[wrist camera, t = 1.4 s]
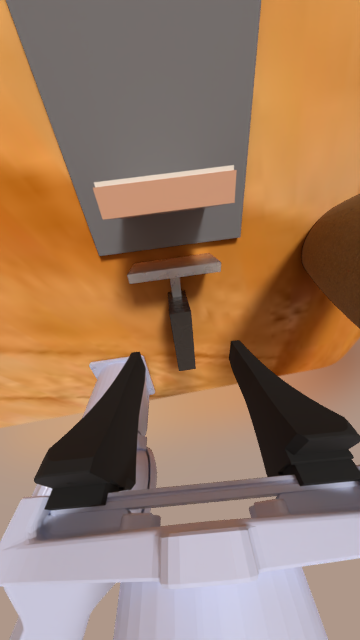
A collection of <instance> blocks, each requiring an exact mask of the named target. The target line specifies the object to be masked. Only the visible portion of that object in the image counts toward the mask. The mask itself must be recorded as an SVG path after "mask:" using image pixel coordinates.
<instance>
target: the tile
mask: <svg viewBox="0 0 360 640" xmlns="http://www.w3.org/2000/svg"><path fill="white" fill-rule="evenodd" d="M236 172H237V170H234V165H230V166H222V167H214V168H206V169H198V170H190V171H182V172H174V173H166V174H158V175H150V176H141V177H133V178H125V179H117V180H109V181H101V182H94V185H95V188H93V191H94V194H95V197H96V200H97V203H98V206H99V210H100V213H101V216H102V219H103V220H106V219H124V218H133V217H141V216H149V215H156V214H164V213H172V212H180V211H187V210H195V209H203V208H209V207H214V206H220V205H225V204H230V203H235V187H236Z"/></svg>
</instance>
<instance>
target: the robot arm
mask: <svg viewBox="0 0 360 640" xmlns="http://www.w3.org/2000/svg"><path fill="white" fill-rule="evenodd" d="M229 360H230V364H231V367H232V370H233V373H234V375H235V378H236V380H237V382H238V385H239V387H240V389H241V392H242V394H243V396H244V399H245V401H246V404H247V407H248V410H249V413H250V416H251V419H252V423H253V426H254V430H255V433H256V436H257V440H258V443H259V447H260V450H261V455H262V458H263V462H264V466H265V470H266V474H267V476H268V477H265V478H254V479H244V480H234V481H224V482H213V483H204V484H193V485H184V486H173V487H163V488H156V482H157V470H156V462H155V459H154V455H153V452H152V450H151V449H150V448H148V447H146V445H147V437H145V435H146V431H147V423H148V408H149V395H152V394H155V389H154V386H153V383H152V380H151V377H150V374H149V371H148V368H147V365H146V361H145V358H144V356H142V355H141V354H140V352H133V353H131V355H130V356H129V357H124V358H117V359H110V360H104V361H97V362H91V363H90V365H89V367H90V368H91V370H92V372H93V373H94V375H95V376H96V378H97V382H96V384H95V387H94V389H93V392H92V394H91V397H90V399H89V402H88V404H87V407H86V409H85V412H84V415H83V417H82V419H81V420H80V421H79V422H78V423H77V424H76V425H75V426H74V427H73V428H72V429H71V430H70V431H69V432H68V433H67V434H66V435H64V436H63V437H62V438H61V439H60V440H59V441H58V442H57V443H55V444H54V445H53V446H52V447H51V448H50V449H49V450H48V452H47V454H46V455H45V457H44V459H43V461H42V464H41V466H40V468H39V470H38V472H37V474H36V476H35V478H34V482H35V483H37V485H36V487H35V490H34V492H33V494H32V496H31V497H24V498H23V499H21V501H20V503H19V505H18V507H17V509H16V511H15V513H14V515H13V517H12V519H11V521H10V523H9V525H8V527H7V529H6V531H5V533H4V535H3V537H2V539H1V541H0V586H3V587H4V590H5V592H6V593H7V595H8V597H9V599H10V601H11V603H12V604H13V606H14V608H15V610H16V611H17V613H18V615H19V617H18V619H17V622H16V624H15V627H14V629H13V632H12V634H11V636H10V639H9V640H83V637H84V634H85V630H86V627H87V624H88V620H89V617H90V614H91V612H92V611H93V609H94V608H95V606H96V605H97V604H98V603H99V602H100V600H101V599H102V598H103V597H104V596H105V595H106V594H107V592H108V591H109V590H110V589H111V588H112V587H113V586H114V584H115V583H116V582H121V583H120V592H119V599H118V608H117V615H116V622H115V630H114V638H113V640H328V638H327V635H326V632H325V630H324V627H323V624H322V621H321V619H320V616H319V613H318V610H317V608H316V605H315V602H314V599H313V597H312V594H311V591H310V588H309V586H308V583H307V580H306V578H305V575H304V572H303V569H302V566H309V565H316V564H322V563H329V562H336V561H343V560H350V559H357V558H360V465H355V463H354V462H353V461H352V459H353V458H354V457H353V455H352V454H351V452H350V451H349V450H348V449H349V448H351V447H353V446H354V445H356V444H357V443H359V442H360V435H359V434H357V432H356V430H355V429H354V428H353V427H352V425H351V424H350V423H349V422H348V421H347V420H346V419H345V418H344V417H342V416H341V415H339V414H337V413H335V412H333V411H331V410H329V409H328V408H326V407H324V406H322V405H320V404H319V403H317V402H315V401H313V400H312V399H310V398H308V397H307V396H305V395H303V394H302V393H301V392H299V391H298V390H296V389H295V388H293V387H291V386H290V385H289V384H287V383H286V382H284V381H283V380H282V379H281V378H279V377H278V376H277V375H275V374H274V373H273V372H272V371H270V370H269V369H268V368H267V367H266V366H265V365H264V364H262V363H261V362H260V361H259V360H258V359H257V358H256V357H255V356H254V355H253V354H252V353H251V352H250V351H249V350H248V349H247V348H246V347H245V346H244V345H243V344H242V343H241V342H240V341H239V340H237V341H231V345H230V354H229ZM94 367H95V368H94ZM271 496H277V497H276V499H272V500H266V501H260V502H255V503H254V505H253V506H251V507H249V511H250V514H251V518H244V519H231V520H220V521H208V522H197V523H188V524H178V525H168V526H160V520H161V518H160V516H158V515H153V514H152V513H150V510H151V508H156V507H166V506H176V505H187V504H197V503H208V502H219V501H229V500H238V499H250V498H260V497H271Z"/></svg>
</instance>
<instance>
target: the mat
mask: <svg viewBox="0 0 360 640" xmlns="http://www.w3.org/2000/svg"><path fill="white" fill-rule="evenodd" d="M6 2H7V5H8V7H9V10H10V13H11V16H12V18H13V21H14V24H15V27H16V29H17V32H18V35H19V37H20V40H21V43H22V46H23V48H24V51H25V54H26V57H27V59H28V62H29V65H30V68H31V70H32V73H33V76H34V78H35V81H36V84H37V87H38V89H39V92H40V95H41V98H42V100H43V103H44V106H45V109H46V111H47V114H48V117H49V120H50V122H51V125H52V128H53V130H54V133H55V136H56V139H57V141H58V144H59V147H60V150H61V152H62V155H63V158H64V161H65V163H66V166H67V169H68V172H69V174H70V177H71V180H72V182H73V185H74V188H75V191H76V193H77V196H78V199H79V202H80V204H81V207H82V210H83V213H84V215H85V218H86V221H87V223H88V226H89V229H90V232H91V234H92V237H93V240H94V243H95V245H96V248H97V251H98V254H99V256H104V255H111V254H119V253H126V252H134V251H141V250H149V249H156V248H164V247H171V246H179V245H186V244H194V243H201V242H208V241H216V240H223V239H231V238H238V237H240V234H241V223H242V211H243V200H244V189H245V177H246V166H247V155H248V143H249V132H250V121H251V110H252V98H253V87H254V76H255V64H256V53H257V42H258V30H259V19H260V8H261V0H6ZM230 165H234V170H237V172H236V187H235V203H230V204H225V205H220V206H214V207H209V208H203V209H195V210H187V211H180V212H172V213H164V214H156V215H149V216H141V217H133V218H124V219H106V220H103V219H102V216H101V213H100V210H99V206H98V203H97V200H96V197H95V194H94V191H93V188H95V185H94V182H101V181H109V180H117V179H125V178H133V177H141V176H150V175H158V174H166V173H174V172H182V171H190V170H198V169H206V168H214V167H222V166H230Z"/></svg>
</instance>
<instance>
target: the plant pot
mask: <svg viewBox="0 0 360 640" xmlns="http://www.w3.org/2000/svg"><path fill="white" fill-rule="evenodd" d="M301 258H302V264H303V266H304V268H305V270H306V271H307V273H308V274H309V275H310V277H311V278H312V279H313V281H314V282H315V283H316V284H317V286H318V287H319V288H320V289H321V290H322V291H323V293H324V294H325V295H326V296H327V297H328V298H329V299H330V300H331V301H332V302H333V303H334V305H335V306H336V307H337V308H338V309H339V310H341V311H342V312H343V313H344V314H345V315H346V316H347V317H348V318H349V319H350V320H351V321H352V322H353V323H354V324H355V325H356V326H357V327H359V328H360V194H358V195H356V196H354V197H352V198H350V199H348V200H346V201H344V202H342V203H341V204H339V205H337V206H335V207H333V208H332V209H330V210H329V211H328V212H327V213H325V214H324V215H323V216H322V217H321V218H320V219H319V220H318V221H317V222H316V224H315V225H314V226H313V227H312V229H311V230H310V232H309V234H308V236H307V238H306V240H305V242H304V245H303V249H302V256H301Z"/></svg>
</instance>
